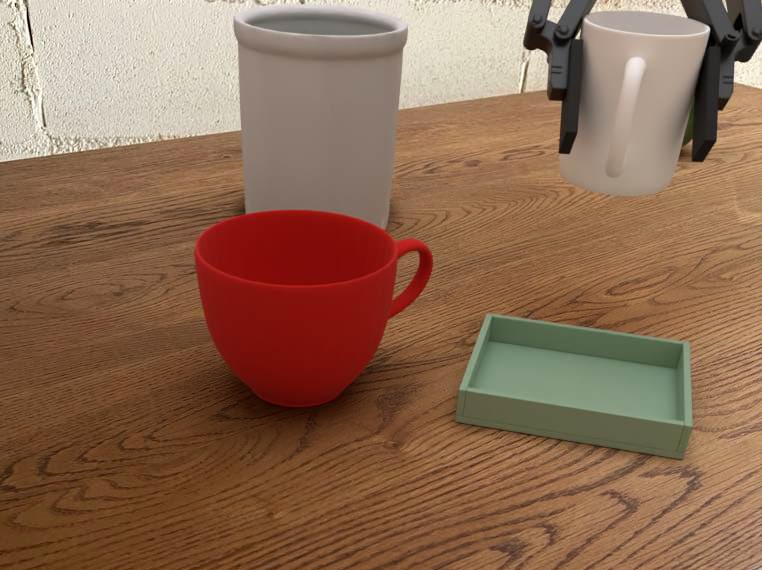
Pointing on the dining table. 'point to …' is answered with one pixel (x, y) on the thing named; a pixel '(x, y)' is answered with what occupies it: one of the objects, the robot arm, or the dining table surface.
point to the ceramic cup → (301, 298)
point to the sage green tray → (579, 385)
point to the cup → (633, 100)
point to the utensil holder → (319, 108)
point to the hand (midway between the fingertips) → (635, 147)
